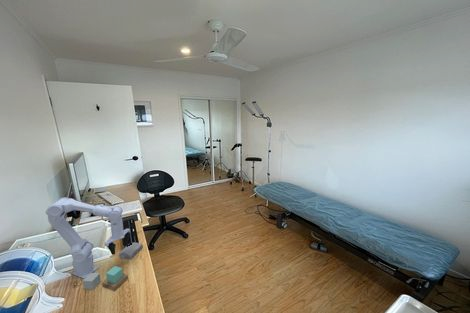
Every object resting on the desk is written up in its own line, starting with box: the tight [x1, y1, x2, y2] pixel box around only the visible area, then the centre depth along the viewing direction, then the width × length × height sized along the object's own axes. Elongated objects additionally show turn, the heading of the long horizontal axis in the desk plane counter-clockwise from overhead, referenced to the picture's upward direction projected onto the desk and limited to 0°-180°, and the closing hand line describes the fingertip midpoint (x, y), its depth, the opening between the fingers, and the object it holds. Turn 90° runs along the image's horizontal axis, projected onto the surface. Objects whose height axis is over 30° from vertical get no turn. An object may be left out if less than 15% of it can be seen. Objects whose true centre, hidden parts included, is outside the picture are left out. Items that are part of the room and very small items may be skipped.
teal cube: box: [105, 265, 124, 284], centre depth 97 cm, size 5×5×5 cm
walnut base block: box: [101, 272, 129, 292], centre depth 98 cm, size 8×8×3 cm
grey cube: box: [82, 272, 102, 290], centre depth 96 cm, size 5×5×5 cm
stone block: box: [118, 242, 144, 260], centre depth 121 cm, size 12×5×10 cm
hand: (119, 249), depth 108 cm, fingers open, 7 cm apart
